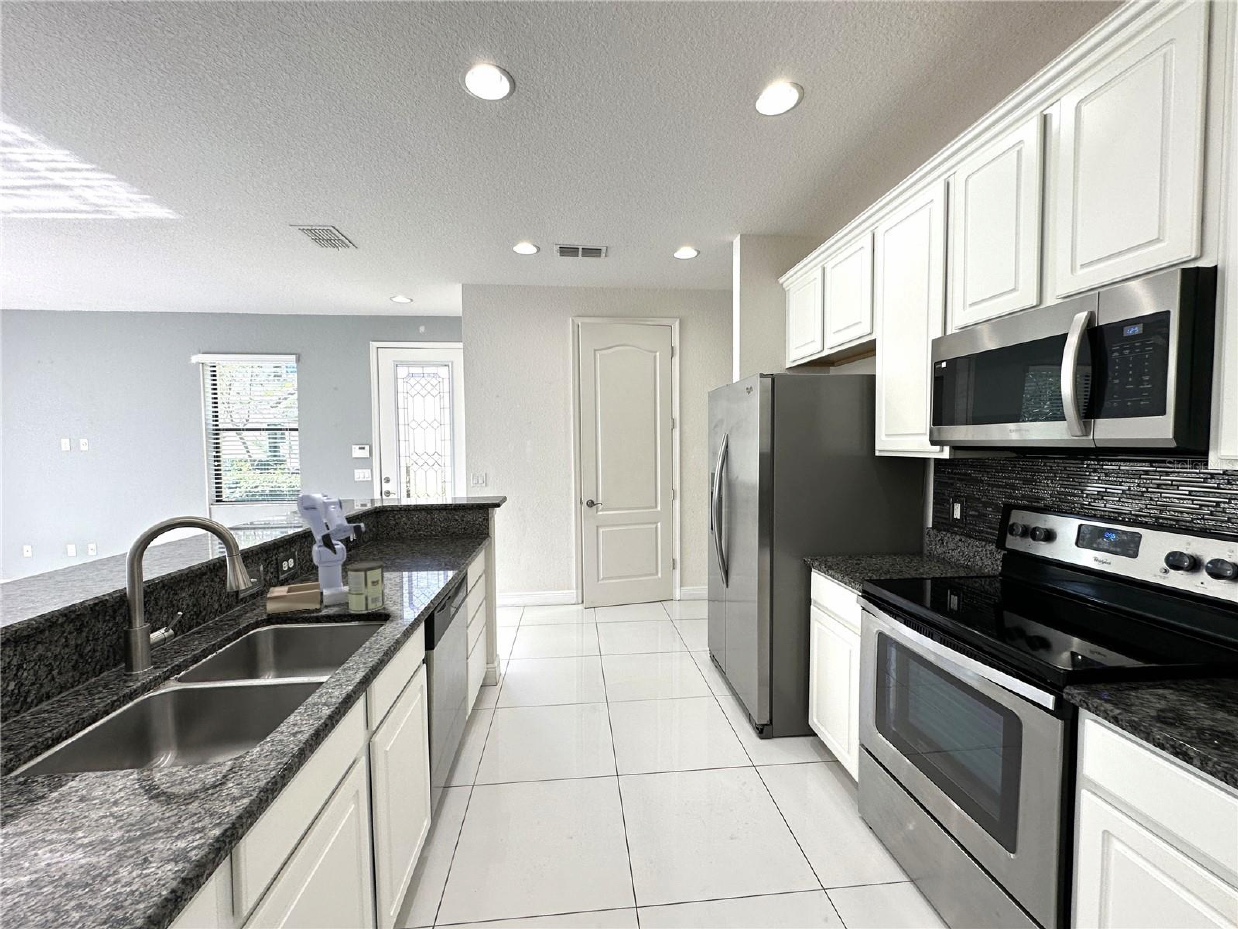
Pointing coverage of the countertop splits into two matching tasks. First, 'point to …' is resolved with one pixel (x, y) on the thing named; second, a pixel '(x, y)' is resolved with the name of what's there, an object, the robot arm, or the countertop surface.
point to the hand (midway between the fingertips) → (348, 548)
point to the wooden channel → (293, 597)
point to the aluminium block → (335, 595)
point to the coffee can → (365, 586)
